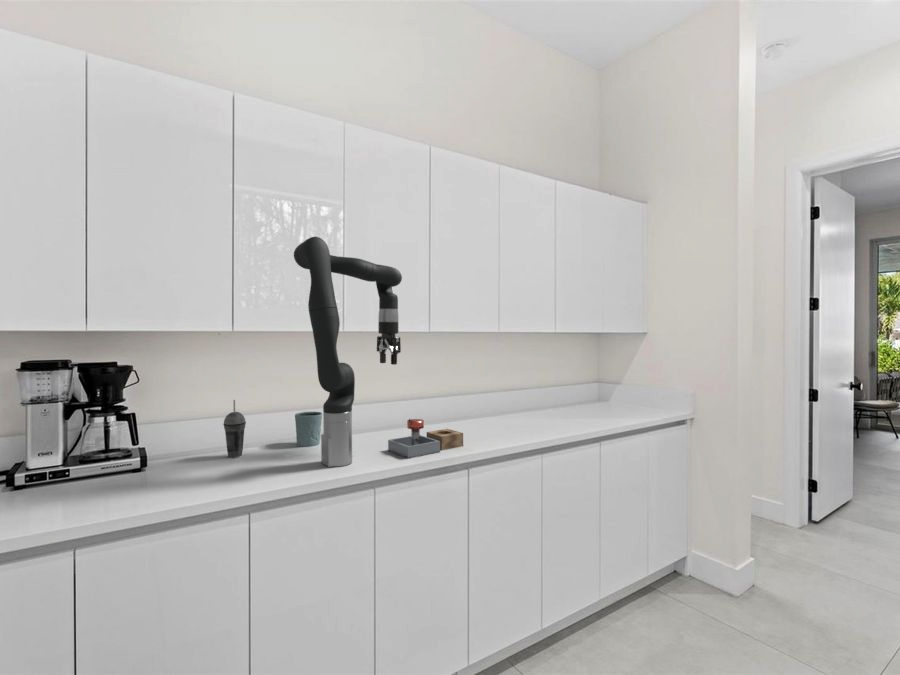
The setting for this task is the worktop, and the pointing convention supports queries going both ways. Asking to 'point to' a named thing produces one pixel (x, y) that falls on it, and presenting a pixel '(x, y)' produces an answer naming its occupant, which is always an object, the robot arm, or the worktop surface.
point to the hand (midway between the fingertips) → (388, 363)
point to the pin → (415, 430)
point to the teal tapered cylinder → (308, 428)
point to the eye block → (447, 438)
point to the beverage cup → (234, 433)
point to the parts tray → (413, 446)
